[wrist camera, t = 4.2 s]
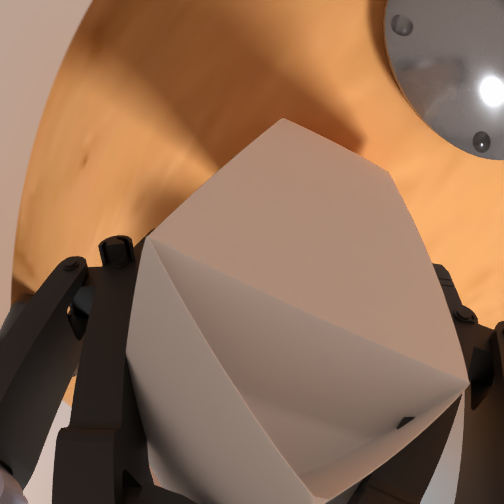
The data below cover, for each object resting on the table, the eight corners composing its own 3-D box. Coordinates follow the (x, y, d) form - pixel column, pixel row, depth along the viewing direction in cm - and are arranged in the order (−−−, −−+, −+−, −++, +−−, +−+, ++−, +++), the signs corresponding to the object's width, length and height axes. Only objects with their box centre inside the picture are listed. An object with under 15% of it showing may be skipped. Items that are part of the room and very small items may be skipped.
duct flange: (374, 130, 18) (376, 133, 17) (380, -65, 11) (382, -71, 10) (544, 176, 15) (552, 182, 14) (557, 4, 8) (566, 3, 7)
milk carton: (239, 213, 21) (65, 501, 6) (282, 116, 18) (-28, 432, 2) (334, 259, 22) (288, 578, 6) (389, 171, 18) (490, 560, 2)
